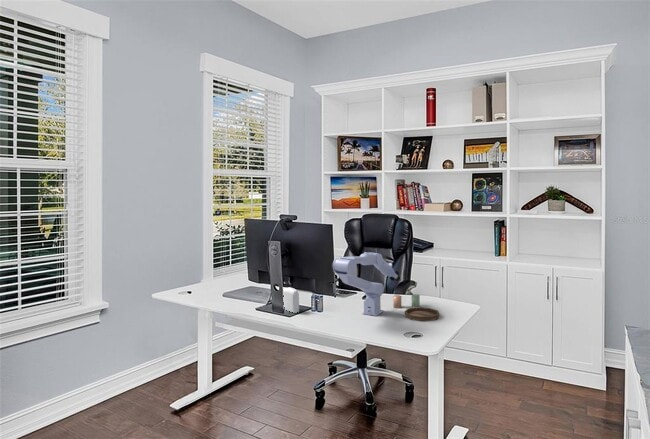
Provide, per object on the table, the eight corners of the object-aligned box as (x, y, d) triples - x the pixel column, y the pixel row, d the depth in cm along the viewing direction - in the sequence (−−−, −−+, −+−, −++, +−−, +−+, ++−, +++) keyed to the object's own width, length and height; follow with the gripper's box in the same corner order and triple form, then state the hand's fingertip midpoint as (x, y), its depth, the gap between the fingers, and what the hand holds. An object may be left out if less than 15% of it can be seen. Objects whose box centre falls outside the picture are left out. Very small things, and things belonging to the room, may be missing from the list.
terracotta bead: (400, 308, 241) (399, 297, 240) (392, 307, 242) (392, 296, 242) (402, 306, 244) (402, 295, 244) (395, 305, 246) (394, 294, 246)
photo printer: (282, 309, 243) (281, 286, 242) (289, 308, 246) (288, 285, 245) (293, 314, 235) (293, 290, 234) (300, 312, 238) (299, 288, 237)
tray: (434, 322, 216) (434, 318, 216) (400, 318, 224) (400, 314, 224) (442, 313, 230) (442, 309, 230) (410, 309, 238) (410, 306, 238)
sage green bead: (418, 307, 242) (418, 296, 242) (410, 306, 244) (410, 295, 244) (420, 305, 246) (420, 294, 245) (412, 304, 248) (412, 293, 247)
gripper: (396, 266, 235) (407, 276, 244) (378, 253, 245) (389, 264, 254) (388, 277, 234) (399, 287, 244) (370, 264, 245) (381, 274, 254)
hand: (394, 276), depth 249 cm, fingers open, 7 cm apart
